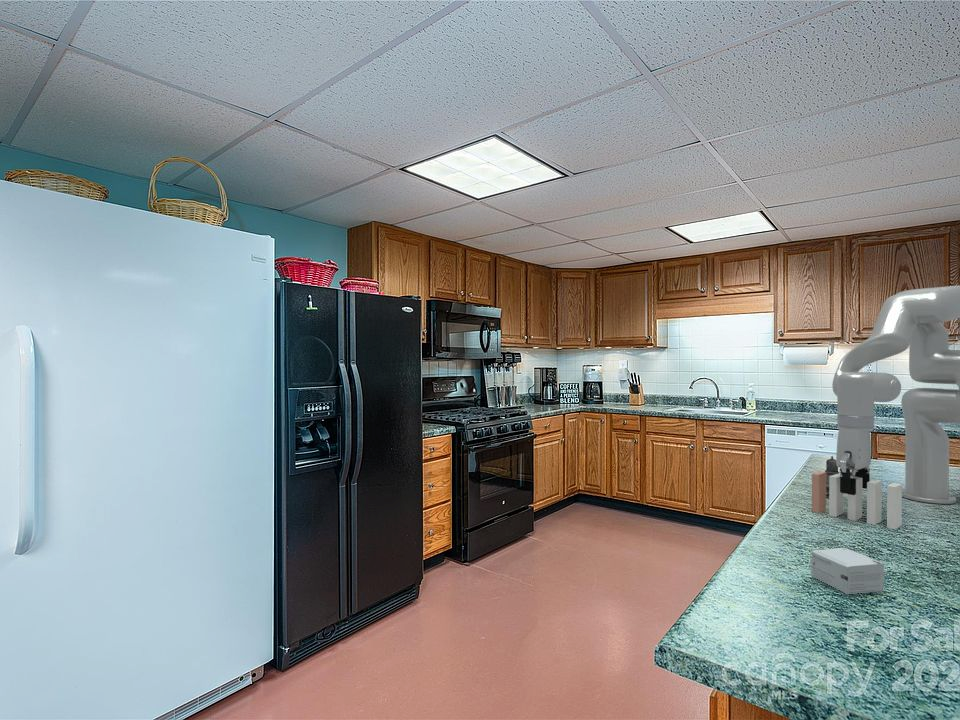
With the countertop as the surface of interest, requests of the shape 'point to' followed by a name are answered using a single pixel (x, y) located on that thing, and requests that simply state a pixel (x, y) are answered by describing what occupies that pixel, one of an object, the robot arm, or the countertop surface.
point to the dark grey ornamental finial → (830, 472)
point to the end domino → (818, 492)
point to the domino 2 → (855, 502)
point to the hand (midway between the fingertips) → (855, 490)
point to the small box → (847, 570)
